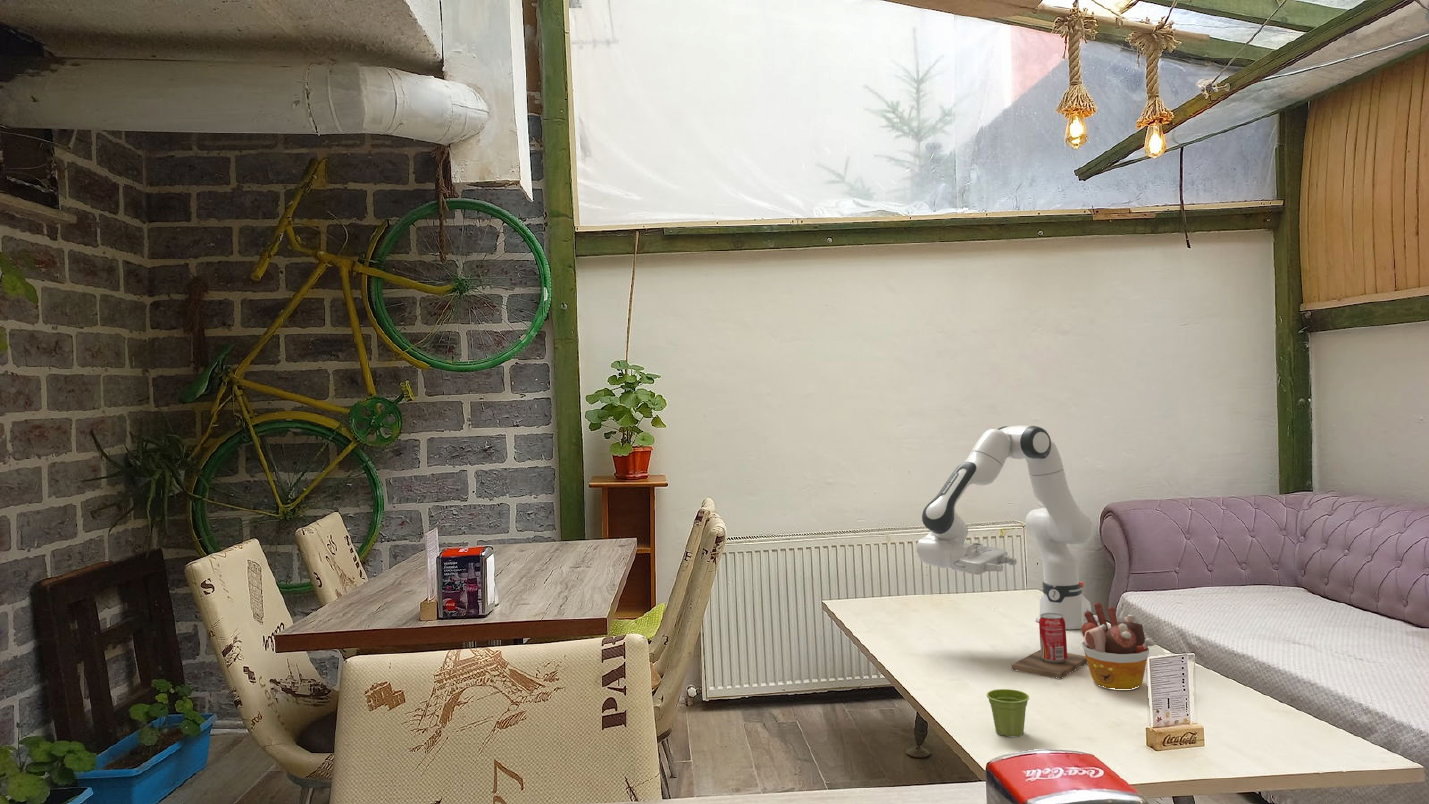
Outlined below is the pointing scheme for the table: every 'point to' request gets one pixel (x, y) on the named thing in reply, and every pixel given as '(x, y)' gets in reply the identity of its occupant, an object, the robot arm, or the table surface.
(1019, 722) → the plant pot
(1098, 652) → the bucket of meat
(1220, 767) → the table surface
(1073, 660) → the walnut board
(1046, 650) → the soda can
